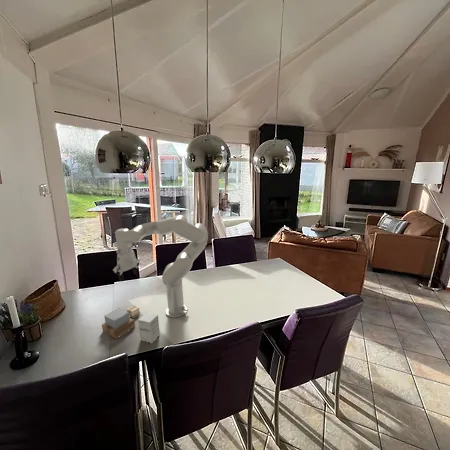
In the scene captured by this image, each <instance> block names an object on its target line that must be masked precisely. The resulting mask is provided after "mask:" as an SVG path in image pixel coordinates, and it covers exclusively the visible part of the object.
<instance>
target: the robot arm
mask: <svg viewBox="0 0 450 450" xmlns="http://www.w3.org/2000/svg"><path fill="white" fill-rule="evenodd" d="M114 232H115V239H116V245H117V246H116V247H117V248H116V249H117V250H115V252H116V254H117V255H116V257H117V258H116V266H114V268H113V269H112V271H113V273H114V274H116V275H118V280H119V281H121V282H124V281H125V280H124V275H123V274H124V273H123V272H126V271H129V270H132V271H133V275H136V276H138V275H139V272H138V268H139V265H140V261H141V260H140V258H139V259H138V258H137V257H136V254H135V250H133V248H132V243H134V244H136V243H139V242H141V240H142V239H144V237H147V236H151V235H160V236H165V235H168V234H172V233H174V234H176V236H177V235H178V236H179V237H181V238H184V239H186V240H188V241H190V242H189V244H188V245H187V246H186V247H184V249H183V250H182V251H181V252H180V253H179V254H178V255H177V257H176V259H175V261H174V262H171V263H168V264H167V265H166V266H165V268H164V271H163V272H162V273H163V274H162V276H161V281H162V283H163V284H164V286H165V288H166V300H167V308H166V310H165V315H166V316H168V317H169V318H172V319H173V318H181V317H182V316H186V315H187V314H188V311H189V309H188V308H187V307H186V305H185V302H184V290H183V279H184V277H185V276H187V275H188V273H189V272H190V270H191V269H192V267H193V263H194V261H195V260H196V259H197V258H198V257H199V255H200V254H201V253H202V252H203V251H204V249H205V248H206V246H207V244H208V240H209V232H208V229H207V227H206V226H205V225H204V224H203V223H195V224H191V223H190V222H189V221H188V218H187V217H186V216H184V215H181V214H179V215H175V216H171V217H167V218H164V219H160V220H155V221H150V222H146V223H142V224H139V225H137V226H134V227H133V228H132V229H130V230H129V229H128V228H119V229H116V230H115V231H114Z"/></svg>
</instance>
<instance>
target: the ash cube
mask: <svg viewBox="0 0 450 450" xmlns="http://www.w3.org/2000/svg"><path fill="white" fill-rule="evenodd" d="M126 311H127V312H129V316H130V317H132V318H134V317H135V318H137V317H139V316H140V315H139V314H140V307H139V306H136V305H134V304H133V305H132V306H130V307H128V308H126ZM138 315H139V316H138ZM136 316H137V317H136ZM130 317H129V318H130ZM132 318H131V319H132ZM135 318H134V319H135Z"/></svg>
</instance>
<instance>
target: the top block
mask: <svg viewBox="0 0 450 450" xmlns="http://www.w3.org/2000/svg"><path fill="white" fill-rule="evenodd" d="M128 321H130V317H129V312H127V310H126V309H125V310H124V309H122V308H120V307H117V308H116V309H114V310H112V311H111V312H108V313H107V314H105V315H104V323H106V324H107V325H109V326H111V327H112V328H114V329H117V328H118V327H120V326H121V325H123V324H125V323H126V322H128Z"/></svg>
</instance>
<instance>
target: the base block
mask: <svg viewBox="0 0 450 450" xmlns="http://www.w3.org/2000/svg"><path fill="white" fill-rule="evenodd" d="M129 318H130V317H129ZM101 327H102V333H105V334H106V335H108V336H109V337H111V338H113V337H114V338H113V339H115V338H116V339H115V340H117V338H118V337H119V336H121V335H122V336H124V335H125V334H126V333H125V332H127V331H128V330H130V329H131V328H133V327H135V328H136V323H135V319H132V318H130V321H128V322H126V323H125V324H123V325H121V326H120V327H118V328H117V329H114V328H112V327H111V326H109V325H107V324H106V323H105V322H104V323H101ZM133 329H134V328H133ZM131 330H132V329H131ZM131 330H130V331H131ZM128 332H129V331H128ZM128 332H127V333H128ZM124 333H125V334H124ZM123 334H124V335H123ZM122 336H121V337H122ZM119 338H120V337H119ZM119 338H118V339H119Z"/></svg>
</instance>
